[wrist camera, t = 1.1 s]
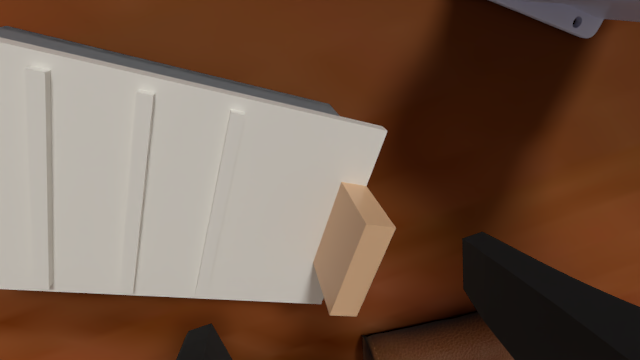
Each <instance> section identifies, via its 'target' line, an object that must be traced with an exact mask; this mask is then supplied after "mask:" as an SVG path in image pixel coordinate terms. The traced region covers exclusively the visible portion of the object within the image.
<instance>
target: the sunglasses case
mask: <svg viewBox="0 0 640 360" xmlns="http://www.w3.org/2000/svg"><path fill="white" fill-rule="evenodd" d="M361 336H362V337H363V338H362V339H363V341H362V342H363V360H514V358H513V357H512V356H511V355H510V354H509V352H508V351H507V350H506V349H505V347H504V346H503V345H502V344H501V342H500V341H499V340H498V339H497V337H496V336H495V335H494V333H493V332H492V331H491V330H490V328H489V327H488V326H487V325H486V323H485V322H484V321H483V319H482V318H481V316H480V314H479V313H478V312H476V313H472V314H468V315H464V316H461V317H457V318H454V319H447V320H441V321H435V322H431V323H427V324H423V325H419V326H414V327H410V328H405V329H400V330H395V331H391V332H387V333H379V334H374V335H371V336H368V337H366V336H363V335H361Z"/></svg>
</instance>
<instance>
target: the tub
mask: <svg viewBox="0 0 640 360" xmlns="http://www.w3.org/2000/svg"><path fill="white" fill-rule="evenodd" d="M0 37H1V38H6V39H10V40H14V41H18V42H23V43H27V44H31V45H36V46H40V47H44V48H49V49H53V50H57V51H61V52H66V53H70V54H74V55H79V56H83V57H87V58H91V59H96V60H100V61H104V62H109V63H113V64H117V65H122V66H126V67H130V68H134V69H139V70H143V71H147V72H152V73H156V74H160V75H165V76H169V77H173V78H177V79H182V80H186V81H190V82H195V83H199V84H203V85H208V86H212V87H216V88H220V89H225V90H229V91H233V92H238V93H242V94H246V95H250V96H255V97H259V98H263V99H268V100H272V101H276V102H281V103H285V104H289V105H293V106H298V107H302V108H306V109H311V110H315V111H319V112H324V113H328V114H332V115H336V116H339V115H338V114H337V113H336V111H335V110H334V109H333V108H332V107H331V106H330V105H329V104H327V103H323V102H318V101H314V100H310V99H306V98H302V97H298V96H294V95H290V94H285V93H281V92H277V91H273V90H269V89H265V88H261V87H257V86H252V85H248V84H244V83H240V82H236V81H232V80H228V79H224V78H219V77H215V76H211V75H207V74H203V73H199V72H195V71H190V70H186V69H182V68H178V67H174V66H170V65H166V64H162V63H157V62H153V61H149V60H145V59H141V58H137V57H133V56H129V55H124V54H120V53H116V52H112V51H108V50H104V49H100V48H96V47H91V46H87V45H83V44H79V43H75V42H71V41H67V40H62V39H58V38H54V37H50V36H46V35H42V34H38V33H34V32H29V31H25V30H21V29H17V28H13V27H9V26H4V27H0Z"/></svg>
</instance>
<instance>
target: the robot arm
mask: <svg viewBox="0 0 640 360" xmlns="http://www.w3.org/2000/svg"><path fill="white" fill-rule="evenodd" d="M489 1H491V2H494V3H496V4H499V5H501V6H504V7H506V8H508V9H511V10H513V11H516V12H518V13H521V14H523V15H526V16H528V17H531V18H533V19H536V20H538V21H541V22H543V23H545V24H548V25H550V26H553V27H555V28H558V29H560V30H563V31H565V32H568V33H570V34H573V35H575V36H577V37H580V38H590V37H592V36H593V35H595V33H596V32H597V31H598V29H599V27H600V25H601V23H602V22H603V20H604V19H611V20H623V21H635V22H640V0H489ZM575 19H576V21H575V23H574V25H573V21H574V20H575ZM462 241H463V288H464V290H465V292H466V294H467V295H468V297H469V299H470V300H471V302H472V303H473V305H474V307H475V308H476V310H477V311H478V313H479V314H480V316H481V318H482V319H483V321H484V322H485V323H486V325H487V326H488V327H489V328H490V330H491V331H492V332H493V333H494V335H495V336H496V337H497V339H498V340H499V341H500V342H501V344H502V345H503V346H504V347H505V349H506V350H507V351H508V352H509V354H510V355H511V356H512V357H513V358H514V360H640V307H638V306H636V305H633V304H631V303H629V302H626V301H624V300H621V299H619V298H617V297H614V296H612V295H610V294H608V293H605V292H603V291H601V290H599V289H596V288H594V287H592V286H589V285H587V284H585V283H583V282H581V281H579V280H577V279H574V278H572V277H570V276H568V275H566V274H564V273H562V272H560V271H558V270H556V269H554V268H552V267H550V266H548V265H546V264H544V263H542V262H540V261H538V260H536V259H534V258H532V257H530V256H528V255H526V254H524V253H522V252H520V251H518V250H517V249H515V248H513V247H511V246H509V245H507V244H505V243H503V242H501V241H499V240H497V239H496V238H494V237H492V236H490V235H488V234H486V233H484V232H480V233H477V234H474V235H471V236H468V237H465V238H462ZM176 360H232V358H231V357H230V355H229V353H228V351H227V350H226V348H225V346H224V344H223V343H222V341H221V339H220V337H219V336H218V334H217V332H216V330H215V329H214V327H213V325H212V323H211V324H208V325H205V326H202V327H199V328H197V329H194V330H191V331H189V332H188V333H187V335H186V337H185V340H184V342H183V345H182V347H181V349H180V352H179V354H178V357H177V359H176Z"/></svg>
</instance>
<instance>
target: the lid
mask: <svg viewBox="0 0 640 360" xmlns="http://www.w3.org/2000/svg"><path fill="white" fill-rule="evenodd" d="M386 134H387V130H386V129H385V128H384V127H383V126H379V125H375V124H371V123H367V122H362V121H358V120H354V119H349V118H345V117H341V116H336V115H332V114H328V113H324V112H319V111H315V110H311V109H306V108H302V107H298V106H293V105H289V104H285V103H281V102H276V101H272V100H268V99H263V98H259V97H255V96H250V95H246V94H242V93H238V92H233V91H229V90H225V89H220V88H216V87H212V86H208V85H203V84H199V83H195V82H190V81H186V80H182V79H177V78H173V77H169V76H165V75H160V74H156V73H152V72H147V71H143V70H139V69H134V68H130V67H126V66H122V65H117V64H113V63H109V62H104V61H100V60H96V59H91V58H87V57H83V56H79V55H74V54H70V53H66V52H61V51H57V50H53V49H49V48H44V47H40V46H36V45H31V44H27V43H23V42H18V41H14V40H10V39H6V38H1V37H0V289H11V290H32V291H53V292H74V293H96V294H117V295H138V296H159V297H180V298H201V299H222V300H243V301H264V302H285V303H306V304H321V303H322V301H323V298H324V299H325V302H326V306H327V309H328V312H329V315H333V316H357V314H358V312H359V310H360V308H361V305H362V303H363V301H364V299H365V296H366V294H367V292H368V290H369V287H370V285H371V283H372V281H373V278H374V276H375V274H376V272H377V269H378V267H379V265H380V263H381V260H382V258H383V256H384V254H385V251H386V249H387V247H388V245H389V242H390V240H391V238H392V236H393V233H394V231H395V229H396V227H395V226H394V225H393V223H392V222H391V220H390V219H389V217H388V216H387V215H386V213H385V212H384V210H383V209H382V207H381V206H380V205H379V203H378V202H377V200H376V199H375V198H374V196H373V195H372V193H371V192H370V190H369V189H368V188H367V183H368V181H369V178H370V176H371V173H372V170H373V168H374V165H375V163H376V160H377V157H378V155H379V152H380V150H381V147H382V144H383V142H384V139H385V137H386Z"/></svg>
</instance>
